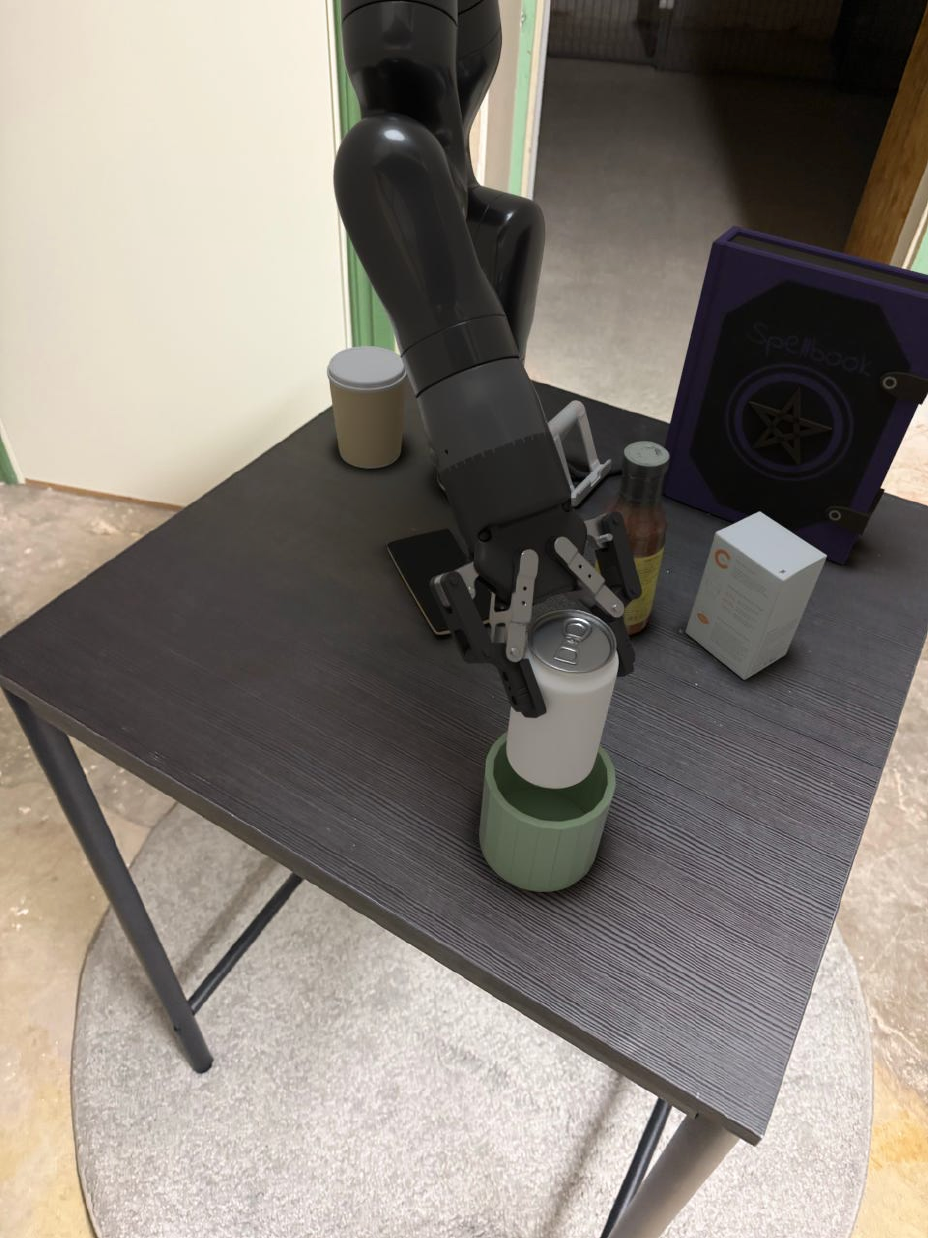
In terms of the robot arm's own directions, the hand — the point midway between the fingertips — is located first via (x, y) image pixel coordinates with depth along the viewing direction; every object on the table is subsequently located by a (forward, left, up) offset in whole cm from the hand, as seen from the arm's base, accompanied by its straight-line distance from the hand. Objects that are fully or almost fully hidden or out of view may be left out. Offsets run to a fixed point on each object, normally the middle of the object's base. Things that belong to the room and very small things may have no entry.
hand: (580, 694), depth 56 cm
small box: (-30, -9, -19) cm, 37 cm away
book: (-47, -24, -19) cm, 56 cm away
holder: (0, -1, -19) cm, 19 cm away
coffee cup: (-14, -57, -19) cm, 62 cm away
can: (0, -2, -9) cm, 9 cm away
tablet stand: (-32, -40, -19) cm, 55 cm away
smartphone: (-9, -31, -19) cm, 38 cm away
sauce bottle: (-22, -18, -19) cm, 35 cm away
